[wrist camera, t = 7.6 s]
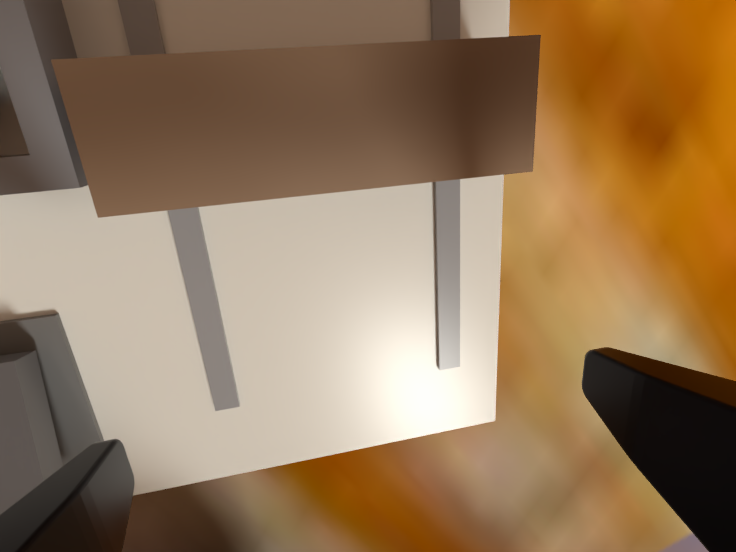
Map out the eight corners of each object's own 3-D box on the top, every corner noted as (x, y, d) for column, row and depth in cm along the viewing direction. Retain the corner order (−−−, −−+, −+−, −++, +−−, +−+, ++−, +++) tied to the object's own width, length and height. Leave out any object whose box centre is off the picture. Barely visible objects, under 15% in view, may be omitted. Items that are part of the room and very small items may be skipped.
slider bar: (479, 161, 13) (532, 171, 11) (139, 195, 12) (97, 217, 9) (480, 55, 12) (540, 34, 10) (108, 76, 11) (50, 59, 8)
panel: (473, 392, 19) (521, 455, 16) (-27, 489, 16) (-117, 598, 12) (482, -191, 12) (570, -325, 9) (-396, -228, 9) (-852, -468, 5)
